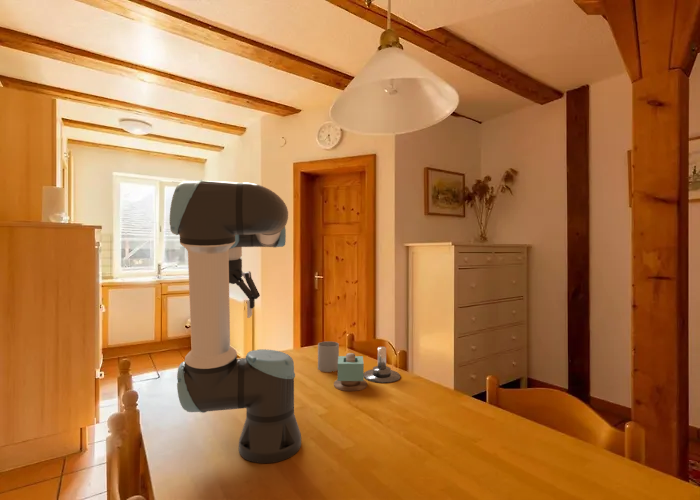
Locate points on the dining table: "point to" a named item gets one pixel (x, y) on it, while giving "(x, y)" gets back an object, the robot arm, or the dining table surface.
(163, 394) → the dining table surface
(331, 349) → the cup
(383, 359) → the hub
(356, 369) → the teal square block
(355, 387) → the stand
